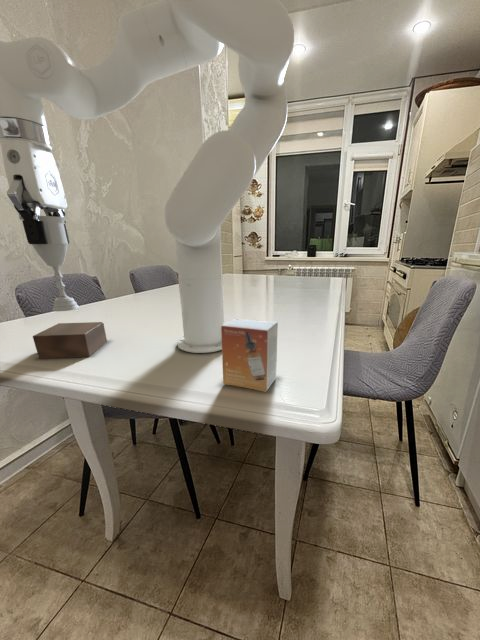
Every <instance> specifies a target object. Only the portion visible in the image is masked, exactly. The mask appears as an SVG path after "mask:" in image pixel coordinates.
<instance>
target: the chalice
mask: <svg viewBox="0 0 480 640" xmlns="http://www.w3.org/2000/svg"><path fill="white" fill-rule="evenodd" d="M65 220H66V217H54V216H46V215H40V220H39V221H43V224H44V228H45V232H46V236H47V240H48V244H31V245H32V247H33V249H34V251H35V252H36V253H37V255H38V256H39V257H40V258H41V260H42V261H43V262H44V263H45V264H46V266H48V267H51V268H52V269H53V272H54V273H53V274H54V275H53V278H54V279H55V281H56V285H55V287H56V288H57V289H58V291H59V295H58V297H57V298H54V300H53V305H52V306H53V307H52V309H51V311H52V312H68V311H75V310H78V309H80V306H79V305H78V304H77V301H75V298H73V297H71V296H68V294H66V291H65V287H66V285H65V283H64V282H63V278H64V276H63V275H62V273H61V270H60V267H62V266H64V264H65V261H66V257H67V254H68V247H69V244H68V242H67V237H66V233H65V228H64V221H65Z"/></svg>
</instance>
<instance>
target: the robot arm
mask: <svg viewBox="0 0 480 640" xmlns="http://www.w3.org/2000/svg"><path fill="white" fill-rule="evenodd" d="M294 43H295V30H294V25H293V20H292V18H291V15H290V13H289V11H288V10H287V8H286V7H285V5H284V4H283V3H282V1H280V0H156V1H153V2H151V3H148V4H145V5H143V6H139V7H137V8H134V9H131V10H127V11H125V12H123V13H121V15H120V17H119V19H118V24H117V27H116V34H115V39H114V43H113V46H112V48H111V50H110V52H109V53H108V55H107V56H106V57H105V58H104V59H102V60H101V61H100V62H98V63H96V64H93V65H91V66H88V67H85V68H82V69H80V67H78V65H77V64H76V63H75V62H74V61H73V59H71V58H70V56H69V55H68V53H67V52H66V51H65V50H64V49H63V48H62V47H61V46H60V45H59V44H57V43H56V42H55V41H53V40H51V39H49V38H46V37H44V36H43V37H42V36H32V37H26V38H22V39H17V40H13V41H2V40H0V147H1V154H2V160H3V166H4V170H5V175H6V179H7V183H8V189H7V191H6V195H7V197H8V198H9V201H10V202H11V203H12V204H13V207H14V209H15V210H16V212H17V213H18V217H19V219H20V221H21V222H22V226H23V229H24V233H25V238H26V240H27V244H29V245H32V244H48V240H47V236H46V232H45V228H44V224H43V221H39V220H40V216H41V210H43V212H44V214H45V216H54V217H64V218H66V213H65V212H66V210H67V208H68V202H67V197H66V193H65V189H64V186H63V182H62V178H61V175H60V171H59V169H58V166H57V162H56V160H55V157H54V154H53V147H52V142H51V138H50V134H49V128H48V124H47V119H46V115H45V111H44V106H43V105H44V104H43V101H42V98H43V99H45V100H46V101H48V102H50V103H52V104H54V105H55V106H56V107H57V108H59V109H60V110H61V111H62V112H63V113H65V114H66V115H67V116H69V117H71V118H73V119H76V120H80V121H89V120H94V119H97V118H100V117H104V116H106V115H109V114H111V113H114V112H116V111H118V110H121V109H123V108H124V107H126V106H127V105H128V104H130V103H131V102H132V101H133V100H134V99H135V98H137V97H138V96H139V95H141V93H142V92H143V91H144V90H145V89H146V87H148V85H150V84H152V83H154V82H156V81H159V80H161V79H165V78H168V77H170V76H173V75H176V74H179V73H182V72H184V71H187V70H190V69H193V68H196V67H199V66H201V65H204V64H206V63H209V62H211V61H213V60H215V59H216V58H217V57H219V55H220V54H221V52H223V51H222V50H223V48H224V46H225V47H226V48H228V49H230V50H231V51H233V52H234V53H236V54H237V55H238V64H237V66H238V67H237V69H238V77H239V81H240V85H241V88H242V91H243V93H244V94H243V95H244V105H243V107H242V109H240V111H238V113H237V115H236V116H235V118H234V120H233V121H232V123H231V124H230V126H229V128H228V129H226V130H219V131H217V132H215V133H213V134H211V135H209V137H208V138H206V140H204V142H203V143H202V144H201V146H199V149H198V150H197V151H196V153H195V155H194V156H193V158H192V159H191V161H190V163H189V164H188V166H187V168H186V169H185V170H184V172H183V174H182V175H181V177H180V178H179V180H178V182H177V183H176V184H175V186H174V188H173V189H172V190H171V193H170V195H169V196H168V198H167V200H166V203H165V207H164V222H165V226H166V228H167V230H168V231H169V233H170V234H171V236H172V237H173V238H174V239H175V253H176V267H177V279H178V280H177V281H178V289H179V299H180V309H181V320H182V331H183V336H182V337H181V338H179V339H178V340H177V347H178V349H180V350H181V351H184V352H187V353H193V354H194V353H195V354H206V353H207V354H208V353H215V352H220V351H222V333H221V326H222V325H224V324H225V323H227V321H225V304H224V303H225V301H224V283H223V282H224V281H223V259H222V257H223V256H222V228H221V227H222V225H223V224H224V222H225V221H226V219H227V218H228V216H229V215H230V213H231V212H232V211H233V209H234V208H235V207H236V205H237V204H238V202H239V201H240V199H241V198H242V197H243V196H244V195H245V194H246V192H247V191H248V190H249V188H250V187H251V184H252V182H253V180H254V178H255V177H256V175H257V173H259V171H260V169H261V167H262V166H263V165H264V163H265V162H266V160H267V158H268V157H269V155H270V154H271V153H272V150H274V147H275V146H276V145H277V143H278V141H279V139H280V138H281V136H282V135H283V132H284V130H285V126H286V124H287V119H288V108H289V107H288V98H287V92H286V88H285V87H286V86H285V81H284V80H285V79H284V78H285V75H286V71H287V69H288V66H289V64H290V60H291V57H292V54H293V50H294ZM66 224H67V221H66V219H65V221H64V228H65V233H66V237H67V242H68V245H69V244H70V239H69V234H68V229H67V225H66Z"/></svg>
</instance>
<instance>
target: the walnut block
mask: <svg viewBox="0 0 480 640" xmlns="http://www.w3.org/2000/svg"><path fill="white" fill-rule="evenodd" d="M32 339H33V342H34V346H35V350H36V354H37V357H38V359H40V360H41V359H42V360H43V359H44V360H45V359H66V358H87V357H88V358H89V357H91V356H92V355H93V354H95V353H96V352H97V351H98V350H99V349H101V348H102V347H103V346H104V345H105V344H106V343H108V339H107V334H106V328H105V324H104V321H90V322H65V323H64V322H59V323H56V324H54V325H53V326H50V327H48V328H46V329H45V330H43V331H39V332H38V333H36V334H34V335H32Z"/></svg>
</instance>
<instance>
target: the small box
mask: <svg viewBox="0 0 480 640" xmlns="http://www.w3.org/2000/svg"><path fill="white" fill-rule="evenodd" d="M278 325H279V323H278V322H277V321H267V320H265V321H264V320H255V319H243V318H239V317H237V318H236V317H235V318H232V319H231V320H229V321H226V323H225V324H224V325H222V326H221V333H222V350H221V360H222V364H221V365H222V384H223V385H226V386H227V385H228V386H233V387H238V388H239V387H240V388H245V389H249V390H256V391H259V392H265V393H267V392H268V390H269V389H270V387H271V386H272V384H273V383H274V381H275V380H276V379H277V363H278V362H277V361H278V360H277V359H278V358H277V357H278V331H279V330H278V328H279V326H278Z"/></svg>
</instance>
